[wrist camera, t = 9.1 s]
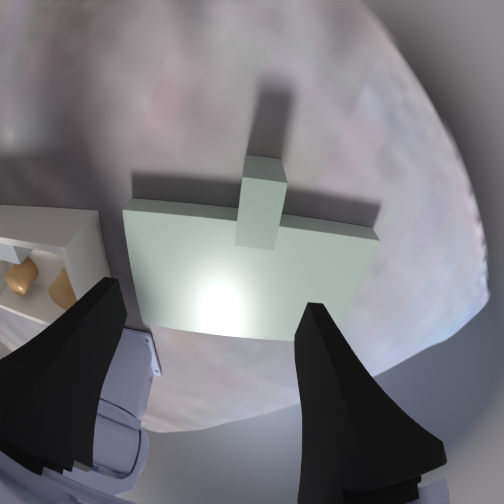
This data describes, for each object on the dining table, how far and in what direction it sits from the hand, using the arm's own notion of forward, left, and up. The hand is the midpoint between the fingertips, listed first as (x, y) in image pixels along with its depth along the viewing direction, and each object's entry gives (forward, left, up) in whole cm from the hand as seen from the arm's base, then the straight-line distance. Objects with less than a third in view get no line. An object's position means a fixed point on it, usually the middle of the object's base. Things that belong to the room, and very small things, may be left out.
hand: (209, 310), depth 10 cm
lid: (-4, -2, -10) cm, 11 cm away
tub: (-7, +18, -10) cm, 22 cm away
